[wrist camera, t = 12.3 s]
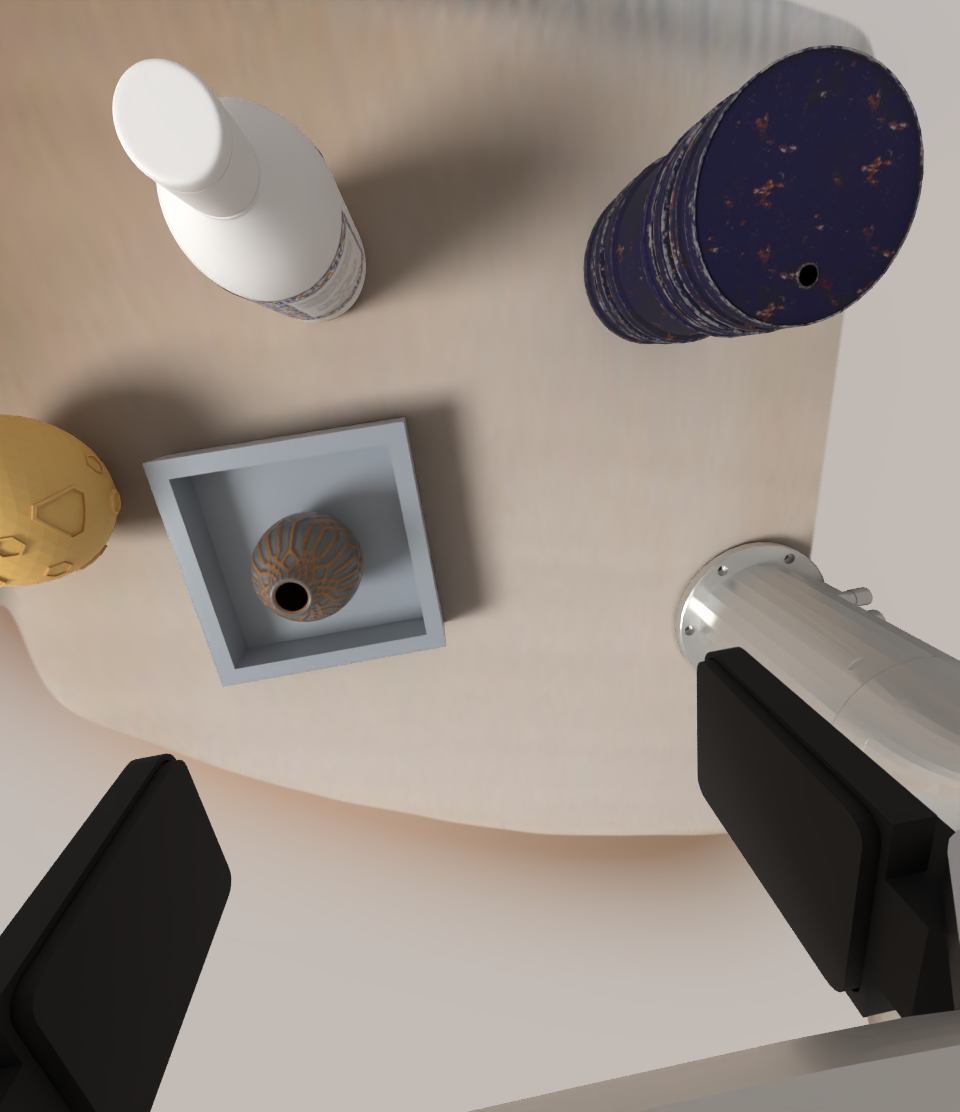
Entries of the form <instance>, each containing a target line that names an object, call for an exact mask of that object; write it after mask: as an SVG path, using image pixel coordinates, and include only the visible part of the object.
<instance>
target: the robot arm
mask: <svg viewBox="0 0 960 1112" xmlns="http://www.w3.org/2000/svg"><path fill="white" fill-rule="evenodd" d="M871 601H872V594H871V592H870V590H868V589H867V588H864V587H862V588H856V589H851V590H847V591H845V592H841V591H839V590H837V589H836V588H834V587H832V586H830V585H828V584H826V583H824V579H823V576H822V575H821V573H820V571H819V569H818V568H817V566H816V565H815V564H814V563H813V562H812V561H811V560H810V559H809V558H808V557H807V556H805V555H803V554H802V553H800V552H799V551H797V550H795V549H792V548H790V547H788V546H785V545H782V544H777V543H773V542H755V543H749V544H744V545H741V546H738V547H735V548H732V549H730V550H728V551H726V552H724V553H722V554H721V555H719V556H717V557H715V558H714V559H713V560H711V561H710V562H709V563H708V564H706V565H705V566H704V567H703V568H702V569H701V570H700V571H699V572H698V573H697V574H696V575H695V577H694V578H693V579H692V580H691V582H690V583H689V585H688V587H687V588H686V590H685V591H684V594H683V596H682V598H681V600H680V603H679V606H678V610H677V615H676V629H675V631H676V636H677V642H678V645H679V647H680V649H681V651H682V654H683V655H684V656H685V658H686V659H687V660H688V662H689V663H690V664H691V665H692V666H693V667H694V668H695V669H696V670H697V751H698V782H699V786H700V789H701V791H702V794H703V796H704V797H705V799H706V801H707V802H708V804H709V805H710V807H711V808H712V810H713V811H714V813H715V814H716V816H717V817H718V819H719V820H720V822H721V823H722V825H723V826H724V828H725V829H726V831H727V832H728V834H729V835H730V837H731V838H732V840H733V841H734V843H735V844H736V846H737V847H738V849H739V850H740V852H741V853H742V855H743V856H744V858H745V859H746V861H747V862H748V864H749V865H750V867H751V868H752V870H753V871H754V873H755V874H756V876H757V877H758V879H759V880H760V882H761V883H762V885H763V886H764V888H765V889H766V891H767V892H768V894H769V895H770V897H771V898H772V900H773V901H774V903H775V904H776V905H777V907H778V909H779V910H780V912H781V913H782V915H783V916H784V918H785V919H786V921H787V922H788V924H789V925H790V927H791V928H792V930H793V931H794V933H795V934H796V935H797V937H798V939H799V940H800V942H801V943H802V945H803V946H804V948H805V949H806V951H807V952H808V954H809V955H810V957H811V958H812V960H813V961H814V963H815V964H816V966H817V967H818V969H819V970H820V972H821V973H822V975H823V976H824V978H825V979H826V980H827V982H828V983H829V984H830V986H831V987H833V988H834V990H836V991H838V992H842V991H845V992H846V993H847V995H848V996H849V997H850V999H851V1000H852V1002H853V1003H854V1005H855V1006H856V1008H857V1009H858V1010H859V1012H860V1014H861V1015H862V1016H863V1017H868V1022H869V1025H864V1026H859V1027H854V1028H849V1029H844V1030H839V1031H834V1032H829V1033H824V1034H819V1035H814V1036H808V1037H803V1038H799V1039H793V1040H789V1041H783V1042H779V1043H774V1044H770V1045H765V1046H760V1047H757V1048H751V1049H747V1050H743V1051H738V1052H733V1053H729V1054H724V1055H720V1056H716V1057H711V1058H706V1059H702V1060H697V1061H693V1062H688V1063H684V1064H679V1065H675V1066H671V1067H666V1068H661V1069H656V1070H652V1071H648V1072H643V1073H639V1074H634V1075H630V1076H625V1077H620V1078H616V1079H611V1080H607V1081H603V1082H598V1083H593V1084H589V1085H584V1086H580V1087H575V1088H571V1089H567V1090H563V1091H558V1092H553V1093H549V1094H545V1095H541V1096H536V1097H531V1098H527V1099H522V1100H518V1101H514V1102H509V1103H505V1104H500V1105H496V1106H492V1107H487V1108H483V1109H478V1110H474V1111H470V1112H960V661H959V660H957V659H955V658H953V657H951V656H950V655H948V654H946V653H944V652H942V651H940V650H938V649H937V648H935V647H933V646H931V645H929V644H927V643H925V642H923V641H922V640H920V639H918V638H916V637H914V636H912V635H910V634H909V633H907V632H905V631H903V630H901V629H899V628H897V627H896V626H894V625H892V624H890V623H888V622H886V621H885V618H884V617H883V615H882V614H881V613H880V612H879V611H877V610H869V611H866V610H864V609H862V608H860V607H858V606H862V605H868V604H870V603H871ZM230 888H231V873H230V870H229V867H228V864H227V862H226V860H225V857H224V855H223V852H222V850H221V848H220V845H219V843H218V841H217V838H216V836H215V833H214V831H213V828H212V826H211V823H210V821H209V819H208V816H207V814H206V811H205V809H204V807H203V804H202V802H201V799H200V797H199V794H198V792H197V790H196V787H195V785H194V783H193V780H192V778H191V775H190V773H189V770H188V768H187V766H186V765H185V762H183V761H182V760H176V759H175V757H173V756H172V755H171V754H162V755H156V756H151V757H146V758H141V759H135V760H133V761H131V762H130V763H129V764H128V765H127V766H126V767H125V769H124V770H123V771H122V773H121V774H120V775H119V777H118V778H117V779H116V781H115V782H114V783H113V785H112V786H111V787H110V789H109V790H108V792H107V793H106V794H105V795H104V797H103V798H102V800H101V801H100V802H99V804H98V805H97V806H96V808H95V809H94V810H93V812H92V813H91V814H90V816H89V817H88V818H87V820H86V821H85V822H84V824H83V825H82V826H81V828H80V829H79V831H78V832H77V833H76V835H75V836H74V837H73V839H72V840H71V841H70V843H69V844H68V845H67V847H66V848H65V850H64V851H63V852H62V853H61V855H60V856H59V858H58V859H57V860H56V861H55V863H54V864H53V866H52V867H51V868H50V870H49V871H48V872H47V874H46V875H45V876H44V878H43V879H42V880H41V882H40V883H39V884H38V886H37V887H36V888H35V890H34V891H33V892H32V894H31V895H30V897H29V898H28V899H27V901H26V902H25V903H24V905H23V906H22V908H21V909H20V910H19V911H18V913H17V914H16V915H15V917H14V918H13V919H12V921H11V922H10V923H9V925H8V926H7V927H6V929H5V930H4V932H3V933H2V934H1V936H0V1112H150V1111H151V1108H152V1105H153V1102H154V1099H155V1097H156V1094H157V1091H158V1088H159V1086H160V1083H161V1080H162V1078H163V1075H164V1072H165V1069H166V1067H167V1064H168V1061H169V1058H170V1056H171V1053H172V1050H173V1047H174V1044H175V1042H176V1039H177V1036H178V1034H179V1031H180V1028H181V1025H182V1023H183V1020H184V1017H185V1014H186V1012H187V1009H188V1006H189V1003H190V1001H191V998H192V995H193V992H194V990H195V987H196V984H197V981H198V979H199V976H200V973H201V970H202V968H203V965H204V962H205V959H206V957H207V954H208V951H209V948H210V946H211V943H212V940H213V937H214V935H215V932H216V929H217V927H218V924H219V921H220V918H221V915H222V913H223V910H224V907H225V904H226V902H227V899H228V896H229V893H230Z"/></svg>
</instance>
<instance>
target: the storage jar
mask: <svg viewBox="0 0 960 1112" xmlns="http://www.w3.org/2000/svg"><path fill="white" fill-rule="evenodd" d="M923 152H924V151H923V143H922V135H921V129H920V125H919V122H918V118H917V114H916V111H915V109H914V106H913V104H912V102H911V100H910V98H909V95H908V93H907V92H906V90H905V88H904V87H903V86H902V84H901V83H900V81H899V80H898V79H897V77H896V76H895V75H894V74H893V73H892V72H891V71H890V70H889V69H888V68H887V67H886V66H885V65H884V64H882V63H881V62H880V61H878V60H877V59H875V58H873V57H872V56H870V55H868V54H867V53H864V52H861V51H858V50H856V49H853V48H850V47H843V46H834V45H826V46H815V47H809V48H806V49H802V50H799V51H796V52H792V53H790V54H788V55H786V56H784V57H782V58H780V59H778V60H776V61H774V62H772V63H771V64H770V65H768V66H767V67H766V68H764V69H763V70H761V71H760V72H759V73H757V74H756V75H755V76H753V77H752V78H751V79H750V80H749V81H748V82H747V83H746V84H744V85H743V86H742V87H741V88H740V89H739V90H738V91H737V92H735V93H733V94H731V95H730V96H729V97H727V98H726V99H725V100H723V101H722V102H720V103H719V104H718V105H716V106H715V107H714V108H713V109H712V110H711V111H710V112H709V113H707V114H706V115H705V116H704V117H703V118H702V119H701V120H700V121H699V122H698V123H696V124H695V125H693V126H692V127H691V128H690V129H689V130H688V131H687V132H686V133H685V134H684V135H683V136H682V137H681V138H680V139H679V140H678V141H677V143H676V144H675V145H674V147H673V148H672V149H671V151H670V152H669V153H668V155H666V156H664V157H662V158H660V159H658V160H656V161H655V162H653V163H652V164H651V165H649V166H648V167H647V168H645V169H644V170H643V171H642V172H641V173H640V174H639V175H638V176H637V177H636V178H635V179H633V180H632V181H631V182H630V183H629V184H628V185H627V186H626V187H625V188H624V189H623V190H622V191H621V192H620V193H619V195H618V196H617V197H616V198H615V199H614V200H613V201H612V202H611V203H610V204H609V205H608V206H607V207H606V209H605V210H604V211H603V213H602V214H601V215H600V217H599V218H598V220H597V222H596V224H595V226H594V227H593V229H592V232H591V235H590V237H589V240H588V243H587V247H586V252H585V258H584V282H585V287H586V293H587V296H588V299H589V301H590V304H591V306H592V308H593V310H594V312H595V314H596V315H597V317H598V318H599V319H600V321H601V322H602V323H603V324H604V325H605V326H606V327H607V328H608V329H609V330H610V331H611V332H613V333H614V334H616V335H617V336H619V337H621V338H623V339H625V340H628V341H631V342H635V343H640V344H654V343H655V344H672V343H688V342H694V341H697V340H701V339H704V338H706V337H708V336H714V337H728V338H731V337H739V336H746V335H753V334H761V333H769V332H773V331H776V330H779V329H783V328H791V327H799V326H807V325H811V324H814V323H817V322H820V321H824V320H826V319H828V318H830V317H832V316H834V315H836V314H838V313H841V312H842V311H844V310H845V309H847V308H848V307H849V306H851V305H852V304H854V303H855V302H857V301H858V300H859V299H860V298H861V297H862V296H864V295H865V294H866V293H867V292H868V291H869V290H870V289H871V288H872V287H873V286H874V285H875V284H876V283H877V282H878V280H879V279H880V278H881V277H882V276H883V274H885V272H886V271H887V269H888V268H889V266H890V265H891V264H892V262H893V260H894V259H895V258H896V256H897V255H898V252H899V251H900V249H901V247H902V245H903V243H904V241H905V239H906V237H907V235H908V232H909V230H910V227H911V225H912V222H913V220H914V217H915V214H916V210H917V206H918V202H919V198H920V194H921V187H922V179H923Z"/></svg>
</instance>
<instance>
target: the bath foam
mask: <svg viewBox="0 0 960 1112" xmlns="http://www.w3.org/2000/svg"><path fill="white" fill-rule="evenodd" d="M113 119H114V124H115V128H116V132H117V135H118V137H119V139H120V142H121V144H122V146H123V148H124V149H125V151H126V153H127V154H128V156H129V157H130V158H131V160H132V161H133V162H134V163H135V164H136V166H137V167H138V168H139V169H140V170H141V171H142V172H144V173H145V174H146V175H147V176H148V177H150V178H151V179H152V180H154V181H155V182H156V184H157V192H158V197H159V201H160V205H161V208H162V212H163V215H164V217H165V220H166V222H167V225H168V227H169V229H170V231H171V233H172V234H173V236H174V238H175V240H176V241H177V243H178V244H179V246H180V247H181V249H182V250H183V251H184V253H185V254H186V255H187V257H188V258H189V259H190V260H191V261H192V262H193V263H194V265H195V266H196V267H197V268H198V269H199V270H200V271H202V272H203V273H204V274H205V275H206V276H207V277H208V278H210V279H211V280H212V281H213V282H215V283H216V284H217V285H219V286H220V287H222V288H223V289H225V290H227V291H229V292H231V293H233V294H235V295H237V296H240V297H242V298H244V299H247V300H249V301H252V302H254V303H257V304H259V305H261V306H264V307H266V308H269V309H271V310H274V311H276V312H279V313H281V314H283V315H286V316H288V317H291V318H294V319H297V320H301V321H305V322H323V321H327V320H330V319H333V318H336V317H338V316H340V315H342V314H343V313H345V312H346V311H347V310H348V309H349V308H350V307H351V306H352V305H353V304H354V303H355V301H356V300H357V298H358V297H359V295H360V293H361V290H362V288H363V285H364V281H365V275H366V257H365V252H364V247H363V244H362V241H361V238H360V236H359V234H358V231H357V229H356V227H355V225H354V222H353V220H352V218H351V216H350V214H349V211H348V209H347V207H346V205H345V202H344V200H343V198H342V196H341V193H340V191H339V189H338V187H337V185H336V182H335V180H334V178H333V176H332V174H331V172H330V170H329V168H328V166H327V164H326V163H325V160H324V158H323V156H322V154H321V153H320V152H319V150H318V149H317V148H316V147H315V146H314V145H313V143H312V142H311V141H310V140H309V139H308V138H307V137H306V136H305V135H304V134H303V133H302V132H301V131H300V130H299V129H298V128H297V127H296V126H295V125H294V124H292V123H291V122H290V121H289V120H287V119H286V118H284V117H283V116H282V115H280V114H279V113H277V112H275V111H273V110H271V109H269V108H268V107H266V106H263V105H261V104H259V103H256V102H253V101H249V100H245V99H240V98H233V97H218V98H217V96H216V95H215V94H214V92H213V91H212V90H211V89H210V87H209V86H208V85H207V84H206V83H205V82H204V81H203V80H202V79H201V78H200V77H199V76H198V75H197V74H195V73H194V72H193V71H191V70H190V69H188V68H187V67H185V66H183V65H181V64H179V63H176V62H174V61H170V60H166V59H147V60H143V61H140V62H138V63H136V64H134V65H133V66H131V67H130V68H129V69H128V70H127V71H126V72H125V73H124V74H123V75H122V77H121V78H120V80H119V82H118V84H117V86H116V89H115V93H114V97H113Z"/></svg>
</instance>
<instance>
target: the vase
mask: <svg viewBox="0 0 960 1112" xmlns="http://www.w3.org/2000/svg"><path fill="white" fill-rule="evenodd" d="M362 574H363V553H362V549H361V547H360V544H359V542H358V540H357V538H356V536H355V535H354V533H353V532H352V531H351V530H350V529H349V528H348V527H347V526H346V525H345V524H344V523H343V522H341V521H340V520H338V519H336V518H334V517H332V516H330V515H327V514H324V513H319V512H300V513H295V514H291V515H289V516H286V517H284V518H282V519H280V520H279V521H277V522H276V523H274V524H273V525H272V526H271V527H270V528H269V529H268V530H266V532H265V533H264V534H263V535H262V537H261V538H260V539H259V541H258V543H257V545H256V547H255V549H254V552H253V555H252V560H251V578H252V583H253V587H254V589H255V592H256V594H257V595H258V597H259V599H260V600H261V601H262V603H263V604H264V605H265V606H266V607H267V608H268V609H269V610H270V611H272V612H273V613H275V614H276V615H278V616H280V617H282V618H285V619H288V620H291V621H296V622H312V621H318V620H322V619H325V618H327V617H329V616H331V615H333V614H335V613H336V612H338V611H339V610H341V609H342V608H343V607H344V606H345V605H347V604H348V602H349V601H350V600H351V599H352V598H353V596H354V595H355V593H356V591H357V589H358V587H359V585H360V582H361V579H362Z"/></svg>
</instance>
